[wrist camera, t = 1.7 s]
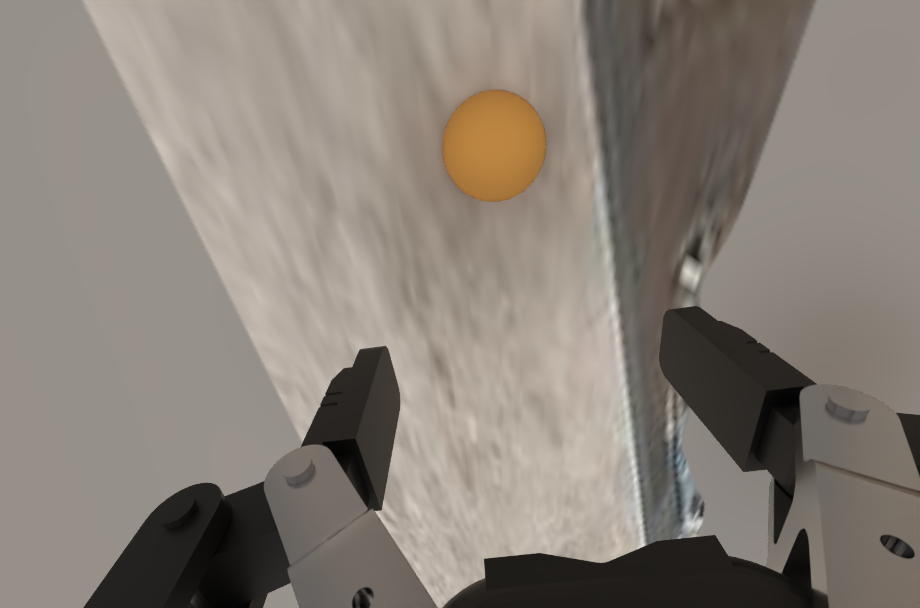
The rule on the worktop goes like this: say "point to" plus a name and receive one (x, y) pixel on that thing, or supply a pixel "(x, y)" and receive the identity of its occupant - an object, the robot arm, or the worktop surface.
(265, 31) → the worktop surface
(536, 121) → the ball
